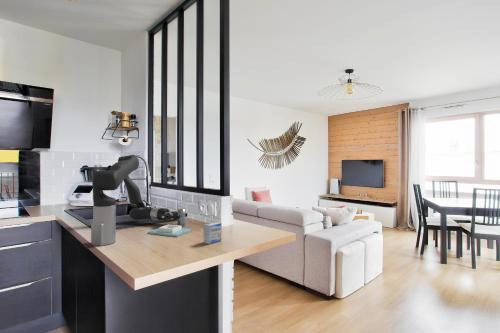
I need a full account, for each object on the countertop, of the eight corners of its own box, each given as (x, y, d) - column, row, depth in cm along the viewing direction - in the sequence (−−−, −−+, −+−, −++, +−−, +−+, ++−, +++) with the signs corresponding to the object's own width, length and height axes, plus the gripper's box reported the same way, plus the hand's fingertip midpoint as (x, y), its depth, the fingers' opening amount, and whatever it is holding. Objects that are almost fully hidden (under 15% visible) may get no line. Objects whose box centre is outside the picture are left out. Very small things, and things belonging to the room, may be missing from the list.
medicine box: (209, 244, 128) (210, 225, 128) (203, 242, 131) (203, 224, 131) (221, 241, 134) (221, 223, 134) (214, 239, 137) (215, 221, 137)
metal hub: (182, 227, 162) (182, 210, 162) (175, 226, 163) (175, 209, 163) (186, 225, 166) (186, 208, 166) (180, 225, 168) (180, 208, 167)
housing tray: (177, 237, 140) (177, 231, 140) (147, 233, 146) (147, 228, 146) (191, 230, 153) (192, 225, 153) (164, 228, 159) (164, 222, 159)
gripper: (152, 209, 163) (176, 211, 157) (167, 206, 176) (189, 208, 171) (152, 222, 163) (176, 224, 157) (167, 218, 176) (189, 220, 171)
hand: (183, 216), depth 164 cm, fingers open, 8 cm apart
